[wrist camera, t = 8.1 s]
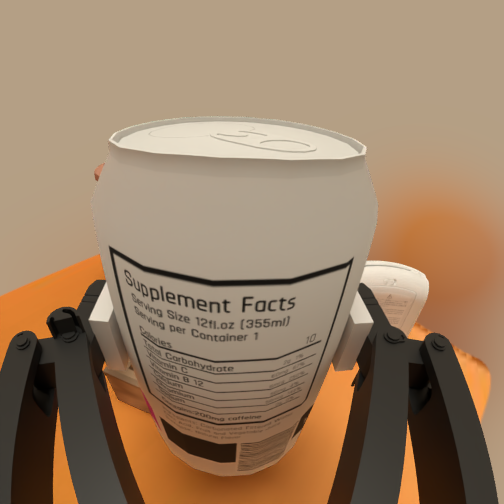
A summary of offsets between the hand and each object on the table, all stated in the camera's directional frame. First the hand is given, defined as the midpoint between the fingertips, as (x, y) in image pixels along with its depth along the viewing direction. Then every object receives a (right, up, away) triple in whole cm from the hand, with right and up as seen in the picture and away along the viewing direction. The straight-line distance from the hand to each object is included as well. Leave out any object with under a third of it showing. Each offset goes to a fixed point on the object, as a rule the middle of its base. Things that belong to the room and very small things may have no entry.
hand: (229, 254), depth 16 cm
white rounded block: (+14, -12, +19) cm, 27 cm away
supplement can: (0, -9, 0) cm, 9 cm away
